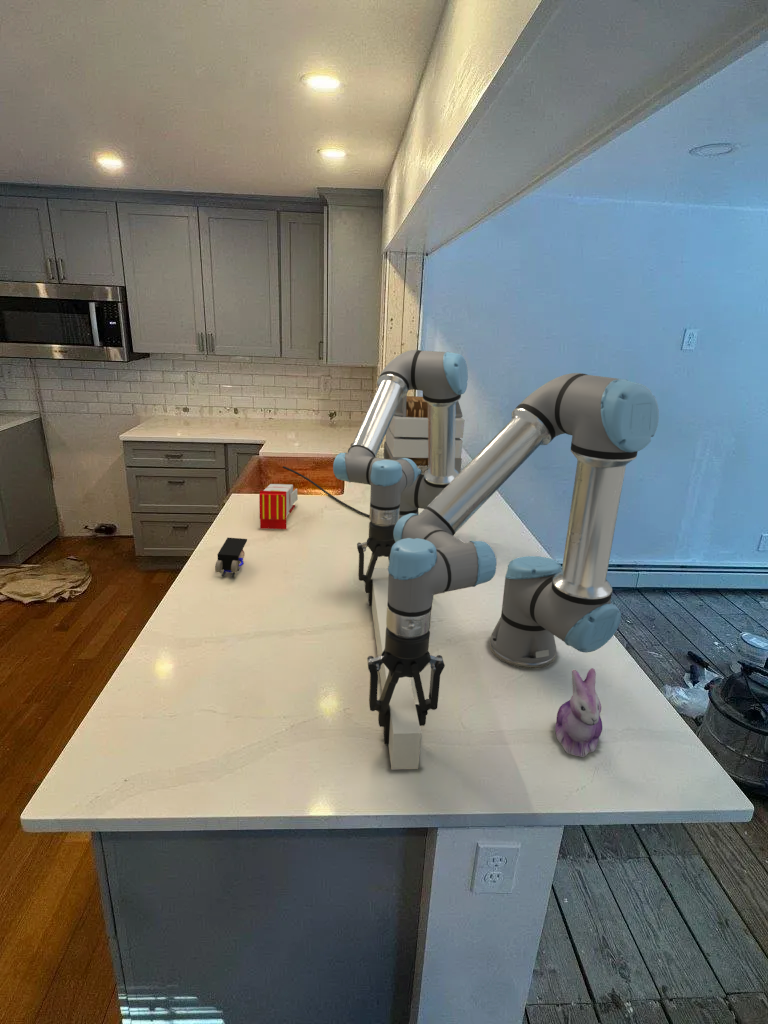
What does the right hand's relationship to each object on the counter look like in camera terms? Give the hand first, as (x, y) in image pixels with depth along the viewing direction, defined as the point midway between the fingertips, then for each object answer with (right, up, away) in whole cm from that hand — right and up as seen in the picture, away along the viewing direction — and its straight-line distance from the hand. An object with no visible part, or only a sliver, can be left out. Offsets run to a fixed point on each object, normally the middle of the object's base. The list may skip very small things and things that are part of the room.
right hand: (400, 738), depth 104 cm
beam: (-2, +8, +24) cm, 25 cm away
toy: (-42, +40, +107) cm, 122 cm away
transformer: (+14, +60, +171) cm, 182 cm away
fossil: (-16, +72, +201) cm, 214 cm away
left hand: (-4, +17, +47) cm, 51 cm away
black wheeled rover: (-48, +24, +64) cm, 83 cm away
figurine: (+33, -1, +2) cm, 33 cm away
